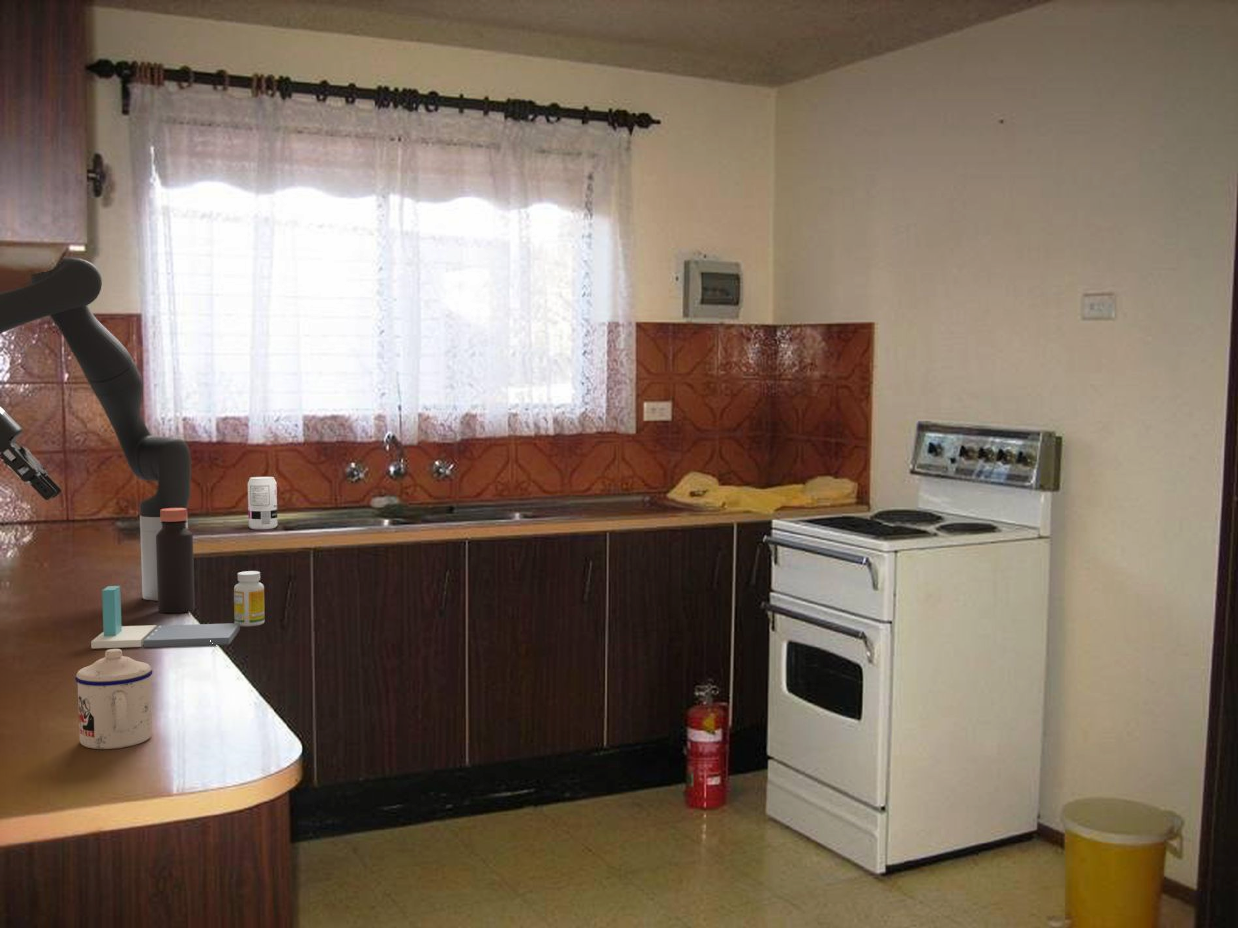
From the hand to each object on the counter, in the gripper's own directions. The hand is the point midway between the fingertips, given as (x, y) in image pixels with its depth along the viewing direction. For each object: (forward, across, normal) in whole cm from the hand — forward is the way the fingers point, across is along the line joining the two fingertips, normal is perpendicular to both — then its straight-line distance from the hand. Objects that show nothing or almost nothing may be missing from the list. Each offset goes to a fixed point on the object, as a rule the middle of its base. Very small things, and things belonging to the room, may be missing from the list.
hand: (54, 495), depth 210 cm
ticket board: (+34, -3, 0) cm, 34 cm away
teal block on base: (+26, -1, +8) cm, 28 cm away
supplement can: (+40, +147, -22) cm, 153 cm away
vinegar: (+31, +24, +1) cm, 39 cm away
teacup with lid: (+31, -63, +9) cm, 71 cm away
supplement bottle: (+40, +6, -8) cm, 41 cm away
